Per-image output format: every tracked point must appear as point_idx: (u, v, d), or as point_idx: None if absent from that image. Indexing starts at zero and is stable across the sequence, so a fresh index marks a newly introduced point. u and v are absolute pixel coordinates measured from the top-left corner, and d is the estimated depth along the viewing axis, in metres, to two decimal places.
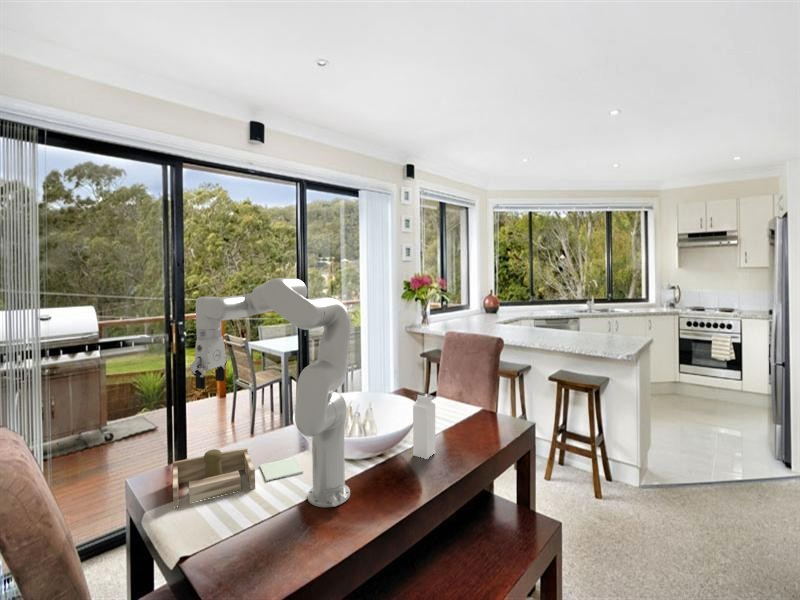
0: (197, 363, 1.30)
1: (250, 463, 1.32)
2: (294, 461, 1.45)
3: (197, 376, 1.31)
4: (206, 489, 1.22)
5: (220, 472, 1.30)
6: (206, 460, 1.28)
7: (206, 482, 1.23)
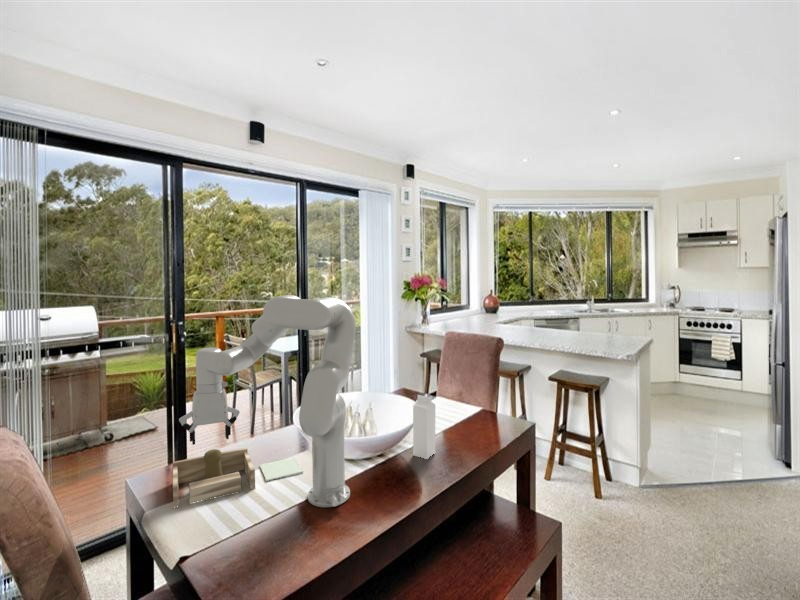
0: None
1: (250, 463, 1.32)
2: (294, 461, 1.45)
3: None
4: (207, 490, 1.22)
5: (220, 472, 1.30)
6: (206, 460, 1.28)
7: (207, 483, 1.23)
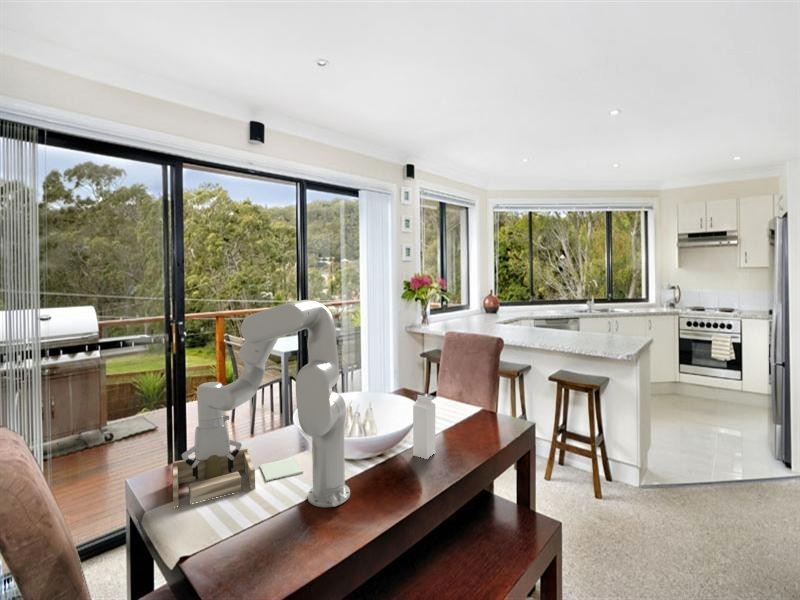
0: None
1: (250, 463, 1.32)
2: (294, 461, 1.45)
3: None
4: (207, 491, 1.22)
5: (220, 472, 1.30)
6: (206, 460, 1.28)
7: (207, 483, 1.23)
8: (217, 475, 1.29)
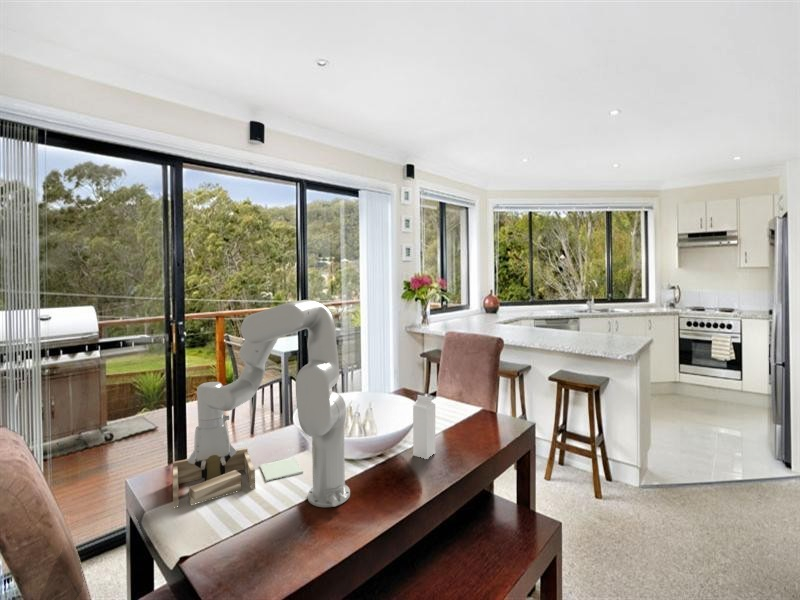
0: None
1: (250, 463, 1.32)
2: (294, 461, 1.45)
3: None
4: (210, 491, 1.21)
5: (220, 472, 1.30)
6: (206, 460, 1.28)
7: (209, 484, 1.22)
8: (217, 475, 1.29)
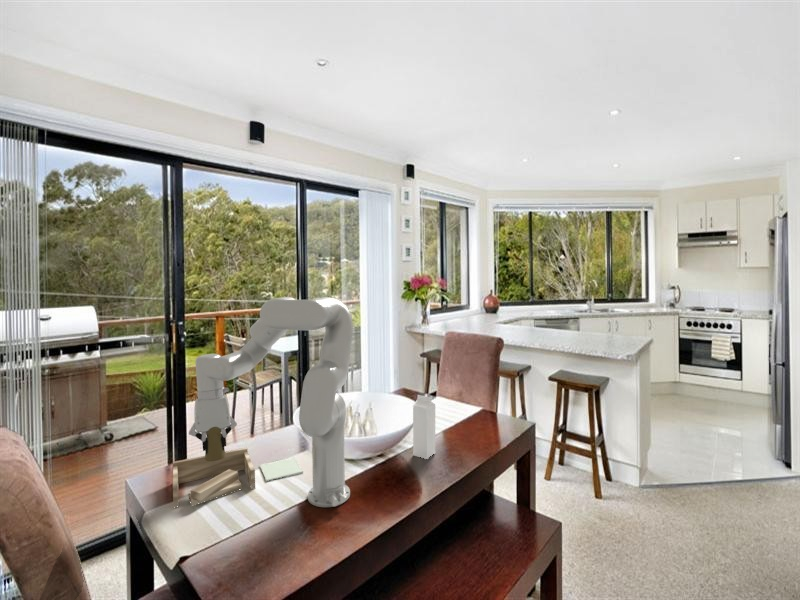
0: None
1: (250, 463, 1.32)
2: (294, 461, 1.45)
3: None
4: (213, 491, 1.22)
5: (221, 444, 1.29)
6: (207, 432, 1.27)
7: (210, 484, 1.22)
8: (218, 447, 1.28)
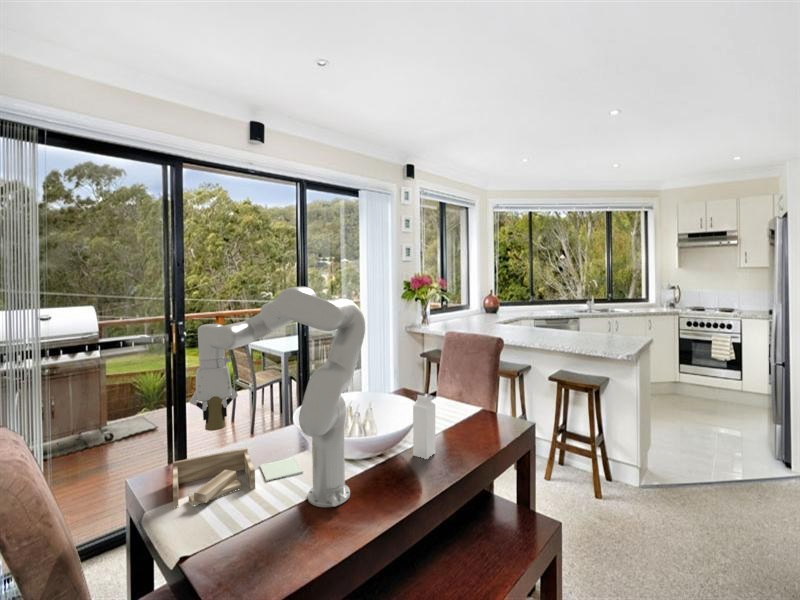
0: None
1: (250, 463, 1.32)
2: (294, 461, 1.45)
3: None
4: (216, 491, 1.22)
5: None
6: (207, 401, 1.27)
7: (213, 485, 1.22)
8: (219, 417, 1.28)
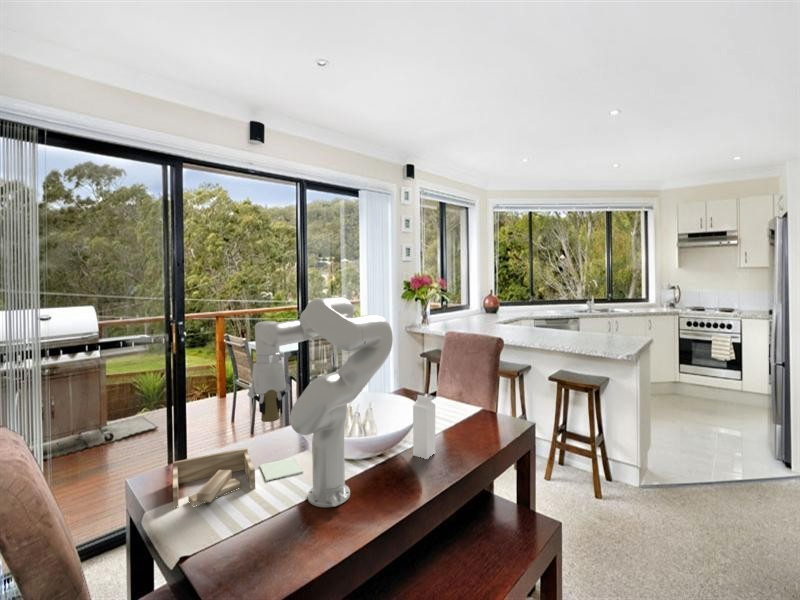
0: None
1: (250, 463, 1.32)
2: (294, 461, 1.45)
3: None
4: (217, 490, 1.22)
5: None
6: (264, 394, 1.35)
7: (213, 485, 1.22)
8: (274, 409, 1.36)
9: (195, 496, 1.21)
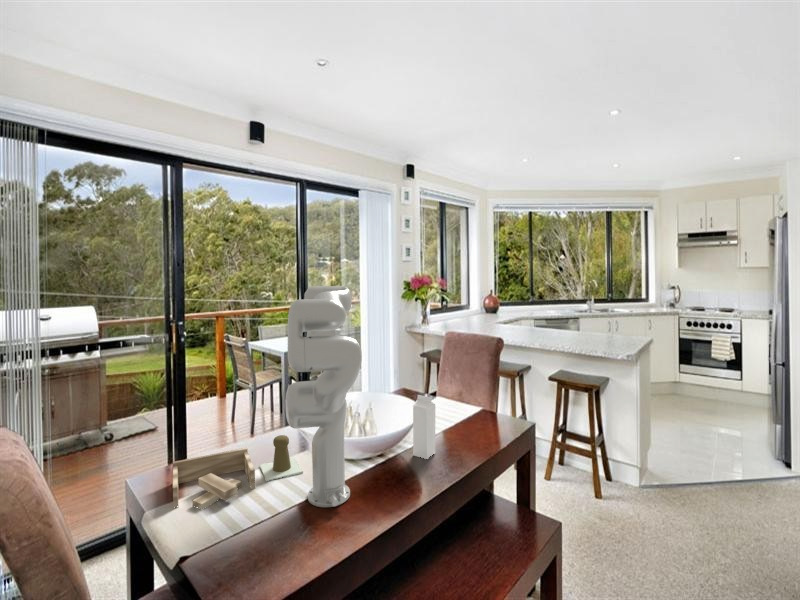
0: None
1: (250, 463, 1.32)
2: (294, 461, 1.45)
3: None
4: None
5: (288, 456, 1.40)
6: (276, 445, 1.37)
7: (224, 483, 1.23)
8: (286, 459, 1.39)
9: (200, 499, 1.19)
